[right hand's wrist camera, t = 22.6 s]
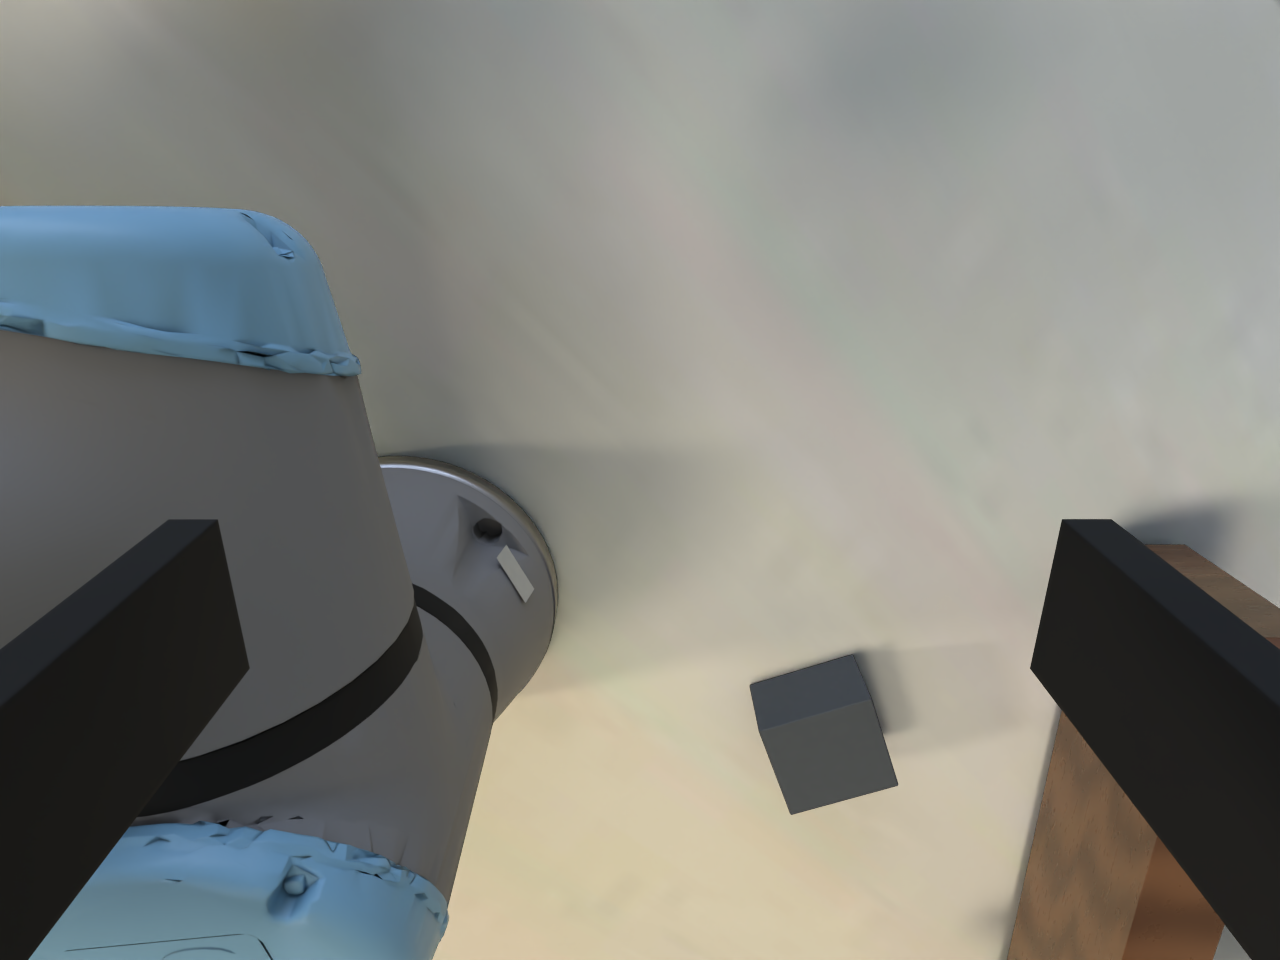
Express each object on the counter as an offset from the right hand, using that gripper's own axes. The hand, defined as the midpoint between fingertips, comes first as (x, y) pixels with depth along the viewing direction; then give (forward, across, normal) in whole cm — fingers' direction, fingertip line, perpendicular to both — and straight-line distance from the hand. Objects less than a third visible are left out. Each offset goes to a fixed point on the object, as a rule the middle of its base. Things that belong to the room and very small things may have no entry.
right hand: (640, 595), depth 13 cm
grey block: (+27, +10, -23) cm, 37 cm away
